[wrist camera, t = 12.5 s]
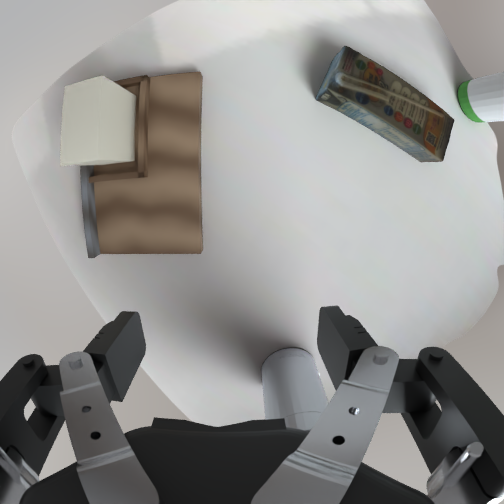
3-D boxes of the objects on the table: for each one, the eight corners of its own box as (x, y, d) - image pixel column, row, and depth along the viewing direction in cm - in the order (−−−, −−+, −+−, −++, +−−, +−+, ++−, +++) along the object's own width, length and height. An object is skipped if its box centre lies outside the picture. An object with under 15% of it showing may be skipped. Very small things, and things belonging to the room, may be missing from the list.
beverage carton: (331, 57, 31) (346, 39, 25) (434, 123, 34) (459, 119, 27) (312, 100, 33) (326, 87, 27) (420, 164, 36) (446, 165, 29)
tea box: (136, 96, 30) (102, 75, 21) (134, 161, 33) (98, 159, 23) (102, 102, 30) (62, 87, 20) (100, 165, 33) (58, 166, 23)
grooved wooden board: (202, 249, 38) (198, 258, 35) (99, 250, 38) (86, 257, 34) (202, 76, 32) (197, 66, 28) (95, 92, 31) (82, 86, 27)
